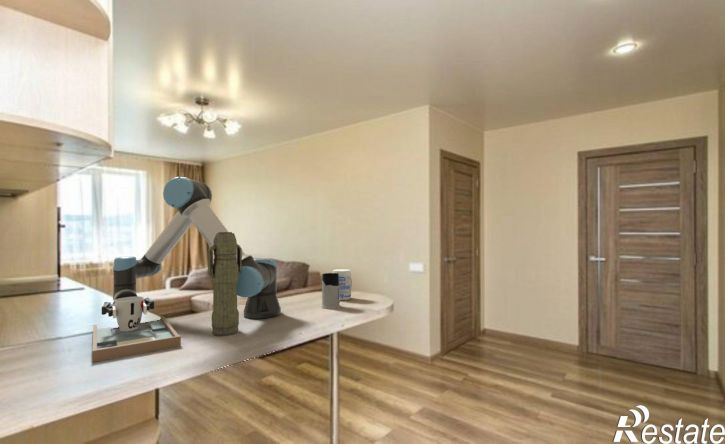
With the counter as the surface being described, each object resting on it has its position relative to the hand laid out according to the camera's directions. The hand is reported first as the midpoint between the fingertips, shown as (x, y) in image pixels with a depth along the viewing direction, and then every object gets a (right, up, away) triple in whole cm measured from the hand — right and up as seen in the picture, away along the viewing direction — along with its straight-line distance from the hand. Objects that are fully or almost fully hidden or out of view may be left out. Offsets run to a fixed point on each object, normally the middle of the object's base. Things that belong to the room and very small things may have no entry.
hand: (130, 311), depth 116 cm
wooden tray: (-2, -10, +4) cm, 11 cm away
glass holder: (+63, -10, +50) cm, 81 cm away
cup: (-3, -7, +4) cm, 8 cm away
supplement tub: (+64, -11, +68) cm, 94 cm away
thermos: (+26, -10, +11) cm, 30 cm away
